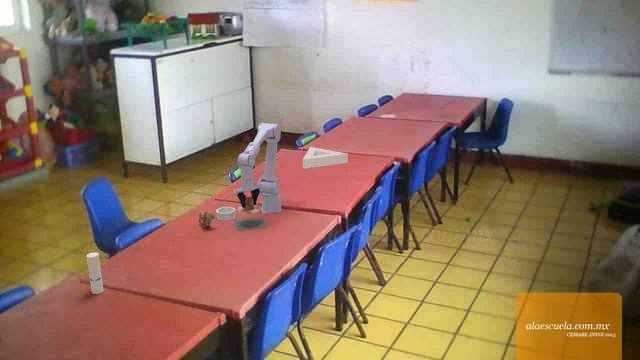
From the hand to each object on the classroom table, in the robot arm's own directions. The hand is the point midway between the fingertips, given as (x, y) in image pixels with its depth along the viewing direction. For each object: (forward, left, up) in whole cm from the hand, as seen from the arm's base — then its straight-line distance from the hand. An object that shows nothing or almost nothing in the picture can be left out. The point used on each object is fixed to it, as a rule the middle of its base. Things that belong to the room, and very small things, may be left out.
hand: (248, 206), depth 306 cm
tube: (+65, +52, -10) cm, 84 cm away
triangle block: (-61, -92, -10) cm, 111 cm away
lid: (0, 0, -2) cm, 2 cm away
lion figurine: (+20, -3, -10) cm, 23 cm away
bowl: (+10, -12, -9) cm, 18 cm away
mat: (0, 0, -9) cm, 9 cm away
